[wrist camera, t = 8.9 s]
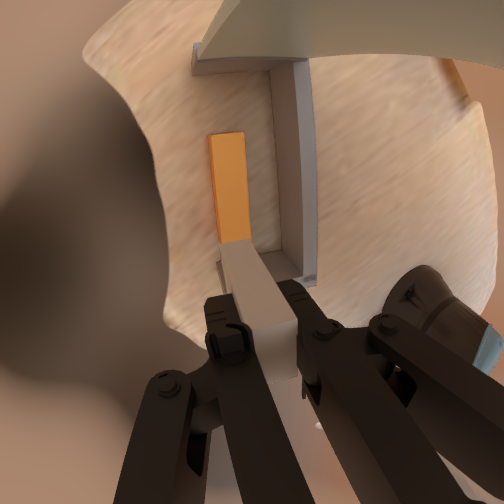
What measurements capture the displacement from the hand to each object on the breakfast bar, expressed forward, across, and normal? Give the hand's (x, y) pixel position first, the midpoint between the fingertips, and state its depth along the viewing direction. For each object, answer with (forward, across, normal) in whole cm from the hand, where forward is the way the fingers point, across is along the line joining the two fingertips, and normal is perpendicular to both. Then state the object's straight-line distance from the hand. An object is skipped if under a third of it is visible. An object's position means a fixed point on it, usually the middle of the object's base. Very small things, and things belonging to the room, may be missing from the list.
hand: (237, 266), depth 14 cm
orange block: (+18, -2, 0) cm, 18 cm away
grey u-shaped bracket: (+18, -5, -2) cm, 19 cm away
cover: (0, -5, -11) cm, 12 cm away
